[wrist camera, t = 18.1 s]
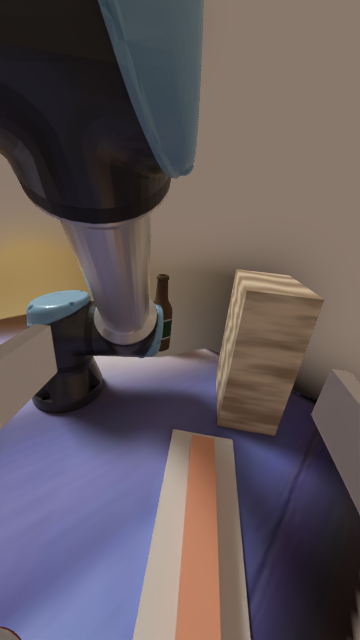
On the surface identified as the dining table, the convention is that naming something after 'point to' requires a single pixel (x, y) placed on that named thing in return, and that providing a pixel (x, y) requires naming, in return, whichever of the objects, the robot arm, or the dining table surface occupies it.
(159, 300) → the beer bottle
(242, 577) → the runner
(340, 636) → the dining table surface
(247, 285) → the stand
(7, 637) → the mug
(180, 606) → the pink long bar
